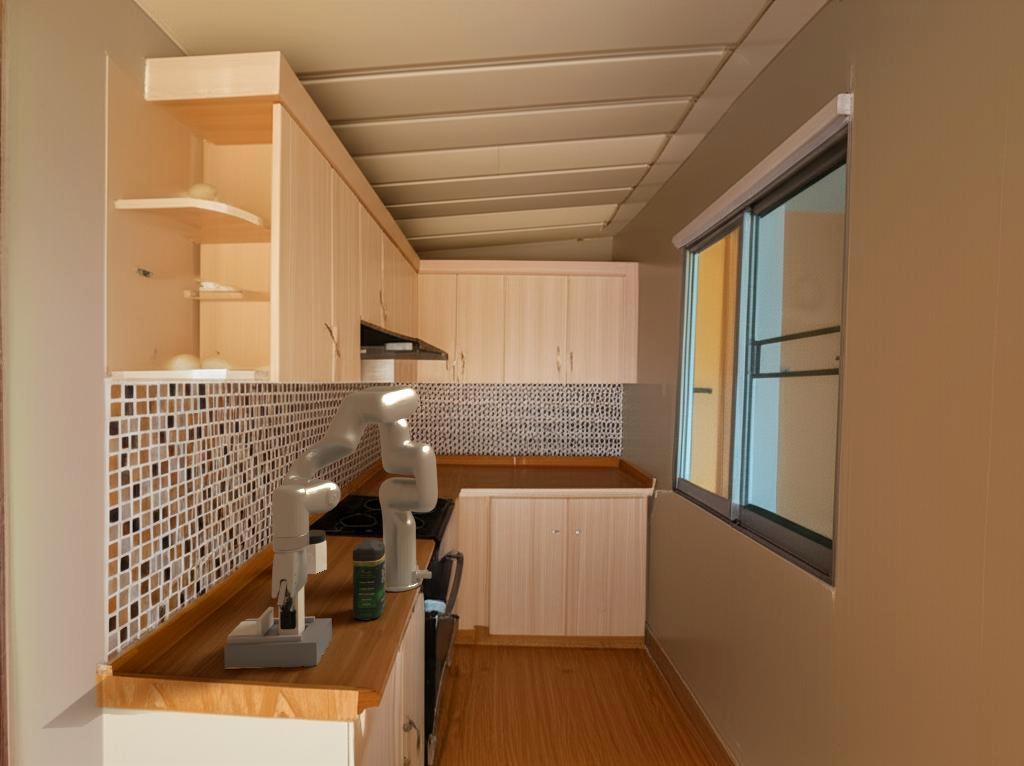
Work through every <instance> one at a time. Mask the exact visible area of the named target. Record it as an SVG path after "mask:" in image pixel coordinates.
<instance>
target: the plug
mask: <svg viewBox="0 0 1024 766" xmlns="http://www.w3.org/2000/svg"><path fill="white" fill-rule="evenodd" d="M279 592H280V590H279ZM279 592H278V593H279ZM290 595H291V593H290V594H287V595H286V596H290ZM278 597H279V595H278ZM278 597H277V598H278ZM290 600H291V599H288V600H286V601H287V602H289V603H290ZM294 610H296V628H295V629H281V628H280V607H279V606H278V618H279V635H302V634H303V632H304V631H305V617H306V615H305V586H303V587H302V589H301V590H300V591H299V592H298V594H297V595H296V596H295V603H294Z"/></svg>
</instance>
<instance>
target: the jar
mask: <svg viewBox="0 0 1024 766" xmlns="http://www.w3.org/2000/svg"><path fill="white" fill-rule="evenodd" d="M327 548H328V547H327V540H326V531H325V530H322V529H311V530H310V529H309V547H308V548H307V549H306V553H307V575H317V573H318V574H320V573H322V571H323V572H325V571H327V570H328V564H327V563H328V560H327V559H328V558H327V557H328V554H327V552H328V551H327ZM324 570H325V571H324ZM319 572H320V573H319Z"/></svg>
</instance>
